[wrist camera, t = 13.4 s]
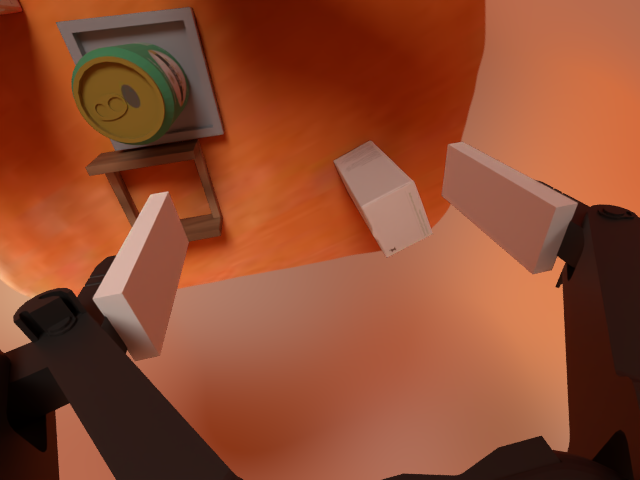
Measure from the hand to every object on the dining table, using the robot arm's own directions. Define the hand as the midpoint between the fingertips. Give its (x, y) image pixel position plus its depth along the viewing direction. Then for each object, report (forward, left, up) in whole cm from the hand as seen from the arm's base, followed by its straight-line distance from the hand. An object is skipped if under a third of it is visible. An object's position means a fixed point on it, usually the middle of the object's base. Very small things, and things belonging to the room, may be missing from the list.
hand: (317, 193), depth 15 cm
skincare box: (+13, +11, -31) cm, 35 cm away
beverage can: (-3, -13, -30) cm, 33 cm away
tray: (-3, -14, -31) cm, 34 cm away
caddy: (+10, -17, -31) cm, 36 cm away
